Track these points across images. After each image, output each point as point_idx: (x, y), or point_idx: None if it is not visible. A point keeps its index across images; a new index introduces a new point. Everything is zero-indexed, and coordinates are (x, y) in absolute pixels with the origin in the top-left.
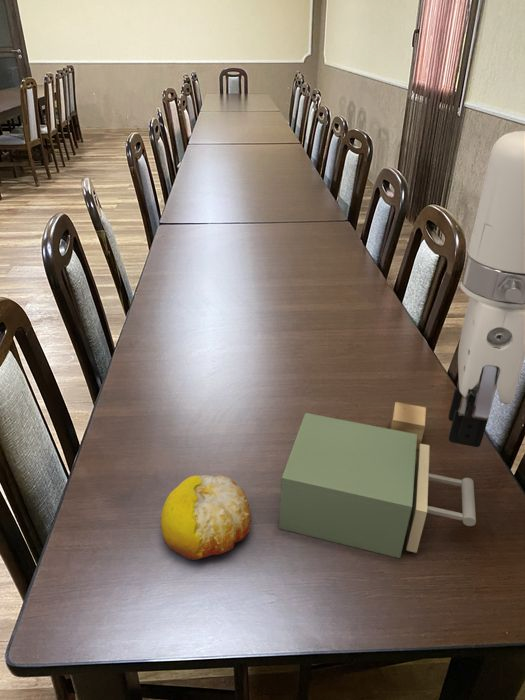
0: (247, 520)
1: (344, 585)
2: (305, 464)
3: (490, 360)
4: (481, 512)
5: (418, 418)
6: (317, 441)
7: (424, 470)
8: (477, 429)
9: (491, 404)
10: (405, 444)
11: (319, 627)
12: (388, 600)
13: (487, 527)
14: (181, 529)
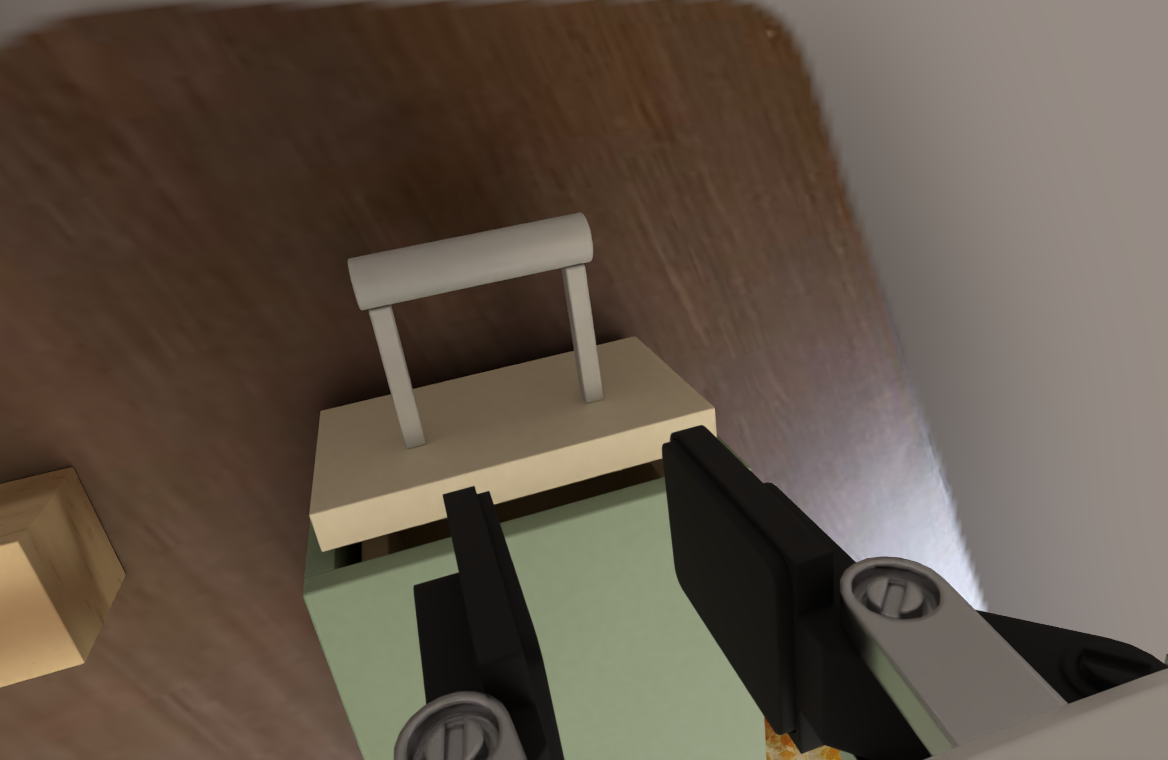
0: (767, 732)
1: (774, 455)
2: None
3: None
4: (307, 162)
5: None
6: None
7: (498, 481)
8: (828, 539)
9: (1042, 683)
10: (411, 607)
11: (883, 456)
12: (779, 351)
13: (378, 130)
14: None
